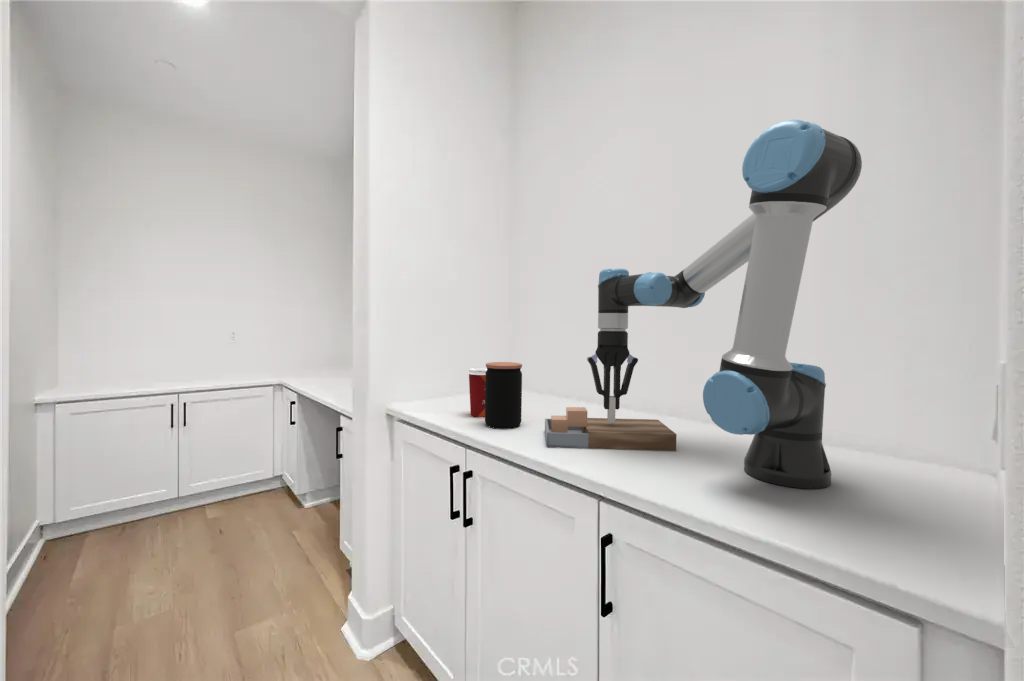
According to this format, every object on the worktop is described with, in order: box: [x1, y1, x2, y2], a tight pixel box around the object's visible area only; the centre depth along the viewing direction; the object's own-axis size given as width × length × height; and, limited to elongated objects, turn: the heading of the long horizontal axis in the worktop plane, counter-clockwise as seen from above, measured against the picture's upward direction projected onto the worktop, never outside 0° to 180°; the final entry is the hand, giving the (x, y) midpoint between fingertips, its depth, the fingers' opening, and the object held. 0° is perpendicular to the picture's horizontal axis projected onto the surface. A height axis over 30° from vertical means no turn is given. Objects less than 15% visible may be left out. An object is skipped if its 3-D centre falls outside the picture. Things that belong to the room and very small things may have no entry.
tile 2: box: [565, 406, 588, 427], centre depth 118 cm, size 5×5×4 cm
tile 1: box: [550, 415, 568, 433], centre depth 118 cm, size 5×5×4 cm
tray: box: [544, 418, 589, 449], centre depth 118 cm, size 16×10×4 cm, turn 178°
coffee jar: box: [484, 361, 523, 429], centre depth 133 cm, size 11×11×18 cm
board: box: [581, 417, 677, 452], centre depth 118 cm, size 16×21×4 cm
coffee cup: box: [467, 367, 487, 418], centre depth 145 cm, size 8×8×15 cm
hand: (611, 421), depth 117 cm, fingers closed
